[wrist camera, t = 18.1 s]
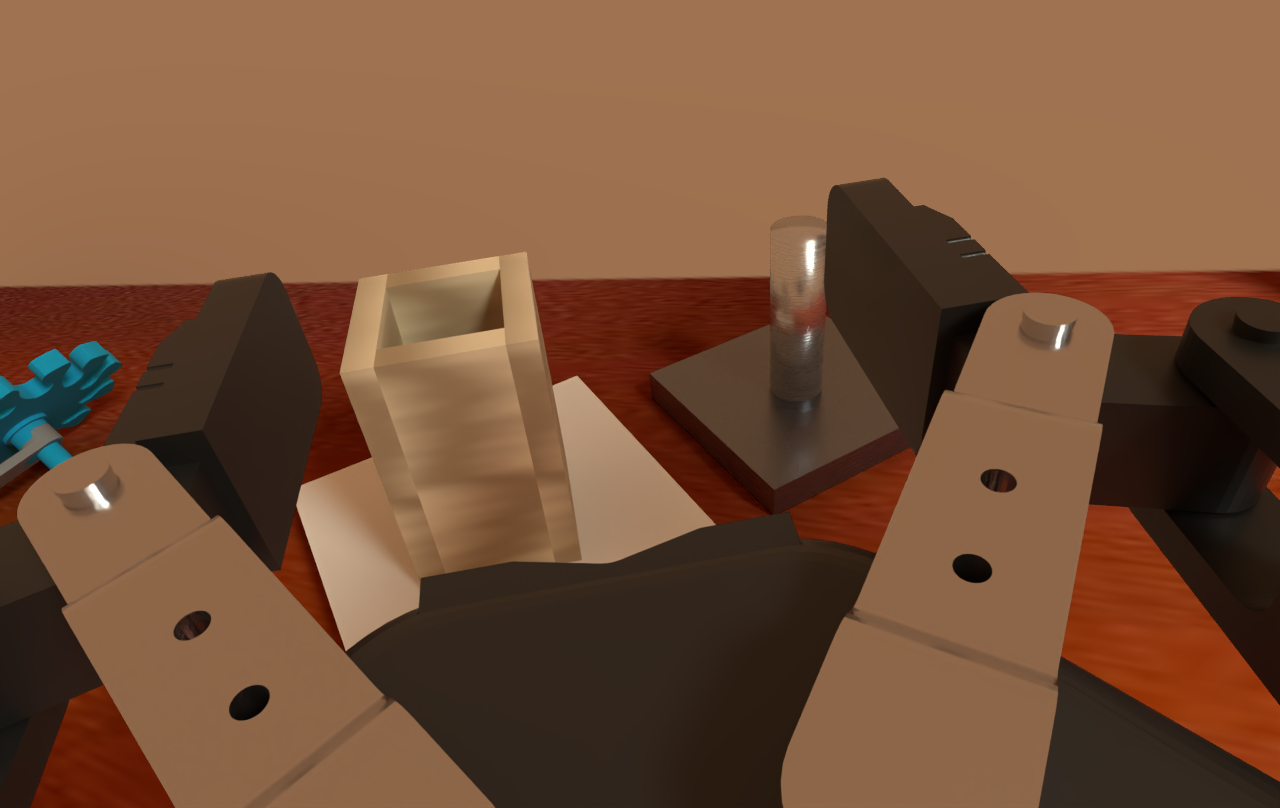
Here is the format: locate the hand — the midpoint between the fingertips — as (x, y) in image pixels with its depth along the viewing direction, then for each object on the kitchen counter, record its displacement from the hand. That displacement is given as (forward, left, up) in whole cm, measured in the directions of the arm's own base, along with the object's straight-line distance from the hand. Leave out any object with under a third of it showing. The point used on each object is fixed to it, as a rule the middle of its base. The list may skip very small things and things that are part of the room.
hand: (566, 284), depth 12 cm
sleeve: (-1, -14, -18) cm, 23 cm away
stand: (-16, -14, -19) cm, 29 cm away
